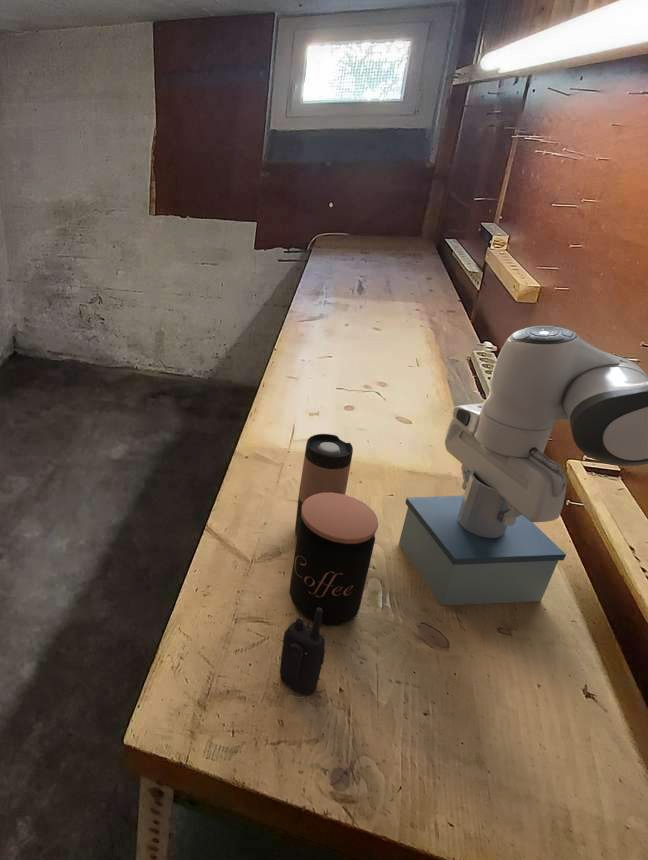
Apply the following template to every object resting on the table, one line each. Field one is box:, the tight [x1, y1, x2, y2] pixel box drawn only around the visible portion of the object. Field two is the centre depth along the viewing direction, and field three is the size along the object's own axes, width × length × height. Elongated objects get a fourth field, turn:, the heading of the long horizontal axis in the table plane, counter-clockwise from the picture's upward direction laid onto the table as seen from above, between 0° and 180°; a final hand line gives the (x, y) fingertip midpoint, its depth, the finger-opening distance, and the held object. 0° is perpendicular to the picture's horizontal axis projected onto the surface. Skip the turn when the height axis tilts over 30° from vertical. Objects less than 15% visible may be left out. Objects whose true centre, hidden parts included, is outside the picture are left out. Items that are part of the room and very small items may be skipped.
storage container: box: [398, 494, 567, 606], centre depth 93 cm, size 17×15×10 cm
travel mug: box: [294, 433, 354, 538], centre depth 100 cm, size 8×8×20 cm
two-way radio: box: [279, 608, 326, 696], centre depth 75 cm, size 6×4×15 cm
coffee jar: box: [289, 493, 379, 627], centre depth 87 cm, size 11×11×18 cm
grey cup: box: [457, 470, 511, 538], centre depth 89 cm, size 7×7×9 cm
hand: (486, 506), depth 89 cm, fingers closed on grey cup, 7 cm apart
